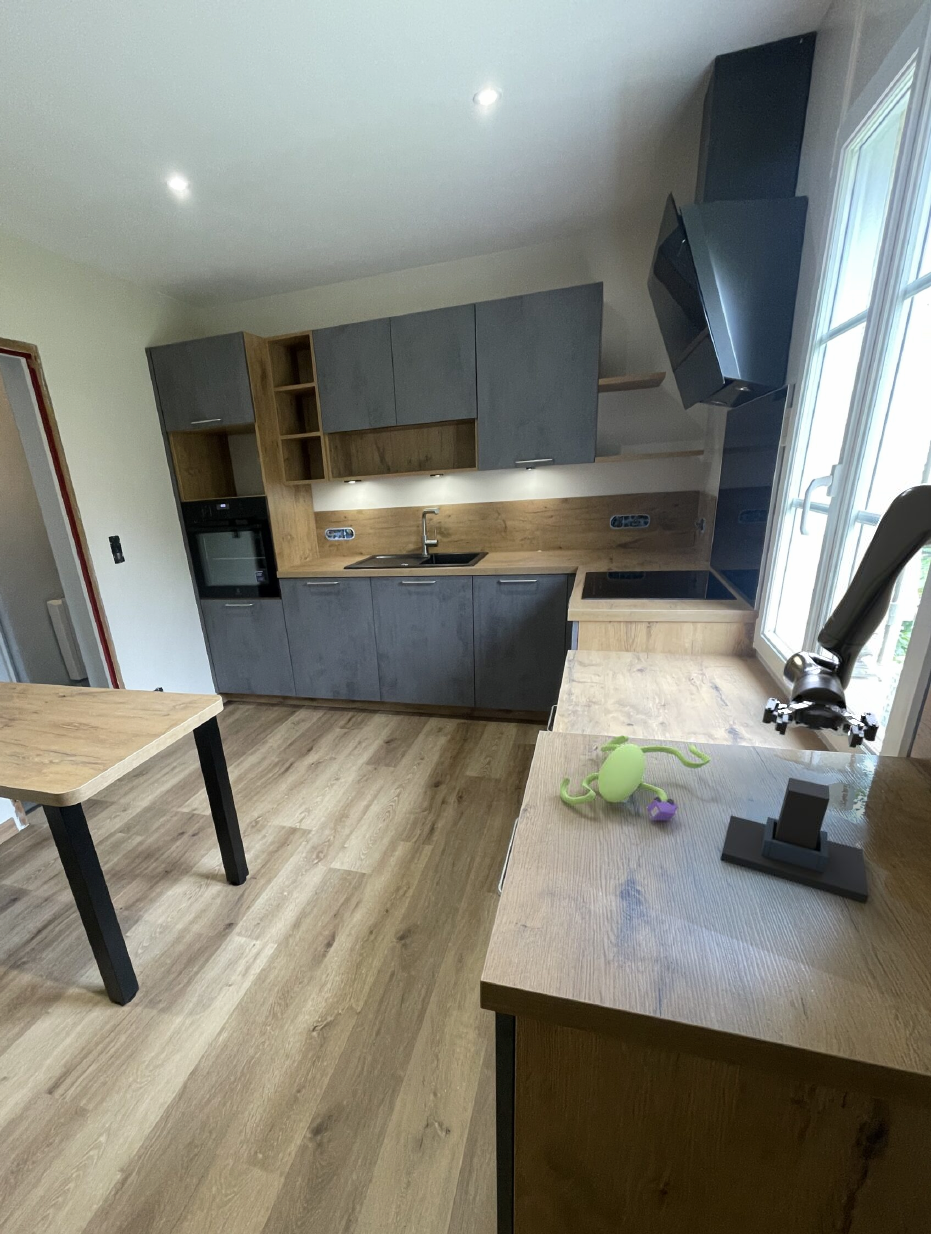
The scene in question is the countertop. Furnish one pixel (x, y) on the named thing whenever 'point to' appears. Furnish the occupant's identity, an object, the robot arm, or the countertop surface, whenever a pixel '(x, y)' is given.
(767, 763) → the countertop surface
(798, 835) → the black rectangular block
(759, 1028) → the countertop surface
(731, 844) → the black socket base
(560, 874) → the countertop surface
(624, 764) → the figurine
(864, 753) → the countertop surface
